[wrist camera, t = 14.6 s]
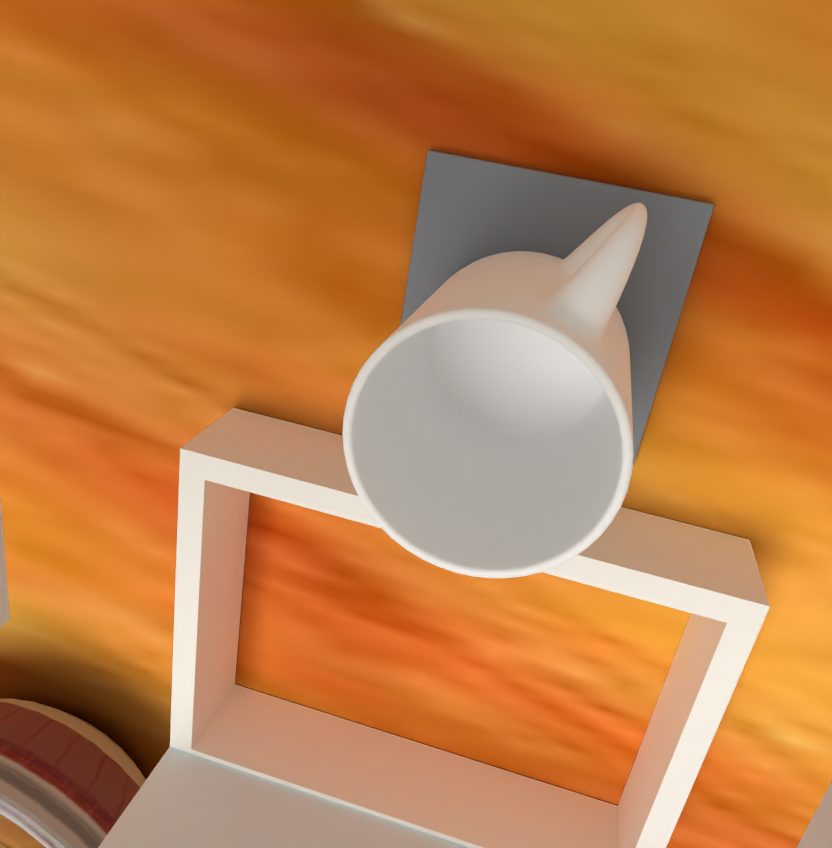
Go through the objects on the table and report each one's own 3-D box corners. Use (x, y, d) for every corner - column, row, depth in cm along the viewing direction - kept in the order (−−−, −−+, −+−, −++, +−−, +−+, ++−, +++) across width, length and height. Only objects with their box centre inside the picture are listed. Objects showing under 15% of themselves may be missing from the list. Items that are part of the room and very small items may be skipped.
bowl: (140, 948, 56) (48, 1106, 47) (-114, 763, 55) (-256, 889, 46) (293, 795, 46) (214, 960, 37) (-14, 567, 46) (-169, 679, 37)
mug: (735, 256, 29) (793, 330, 19) (546, 481, 34) (516, 627, 24) (547, 124, 29) (510, 131, 19) (386, 370, 34) (293, 473, 24)
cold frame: (233, 407, 37) (-166, 713, 18) (749, 539, 33) (918, 1099, 14) (214, 693, 45) (-82, 1119, 26) (634, 828, 41) (646, 1445, 22)
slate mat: (431, 150, 31) (427, 150, 30) (712, 203, 29) (714, 205, 28) (391, 401, 35) (388, 406, 34) (632, 461, 33) (632, 466, 33)
